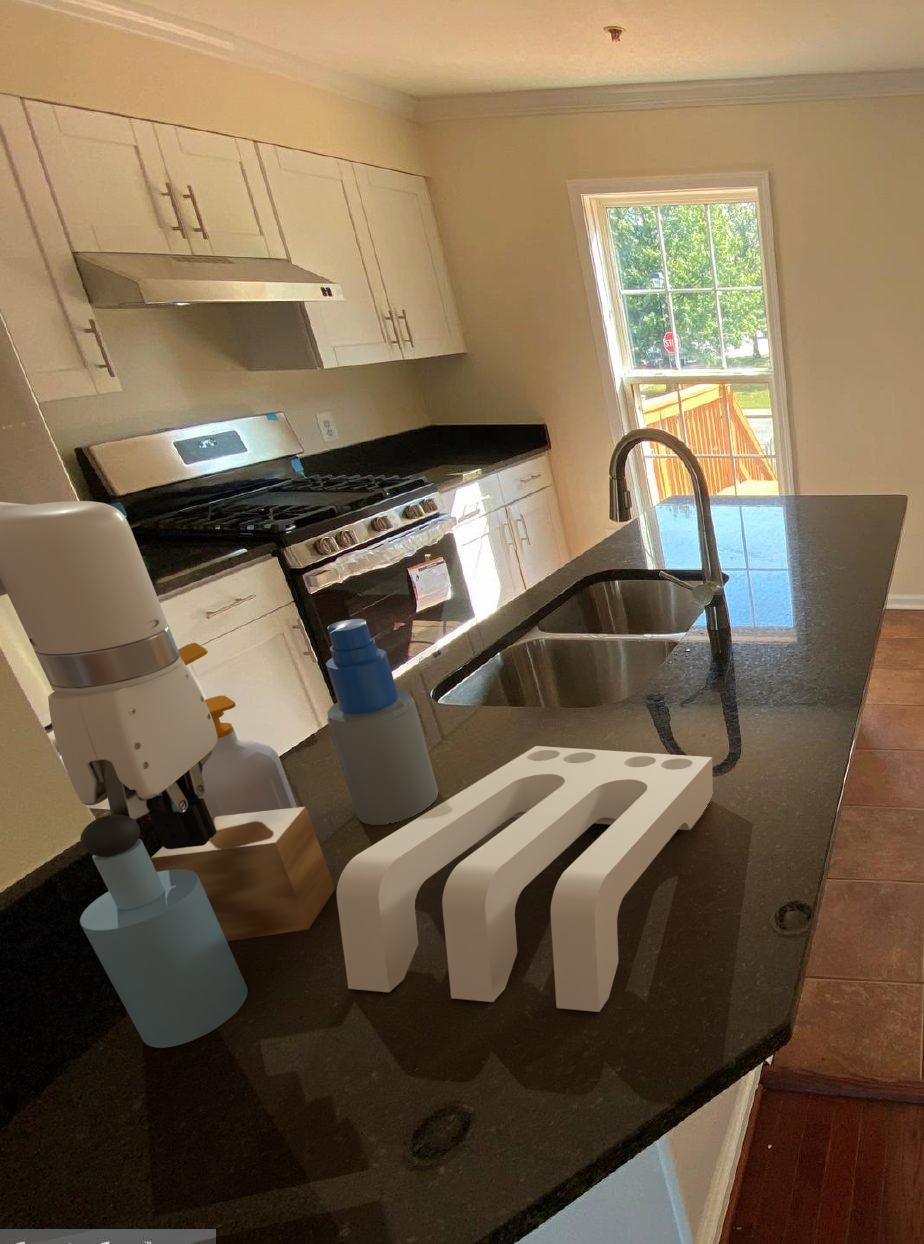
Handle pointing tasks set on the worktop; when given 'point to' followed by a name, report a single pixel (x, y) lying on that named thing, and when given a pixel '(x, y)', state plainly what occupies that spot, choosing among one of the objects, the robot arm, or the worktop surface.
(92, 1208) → the worktop surface
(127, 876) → the bottle
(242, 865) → the oak block
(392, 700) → the spray bottle
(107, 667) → the robot arm
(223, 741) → the soap bottle
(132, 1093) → the worktop surface
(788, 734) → the worktop surface
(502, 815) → the bracket
